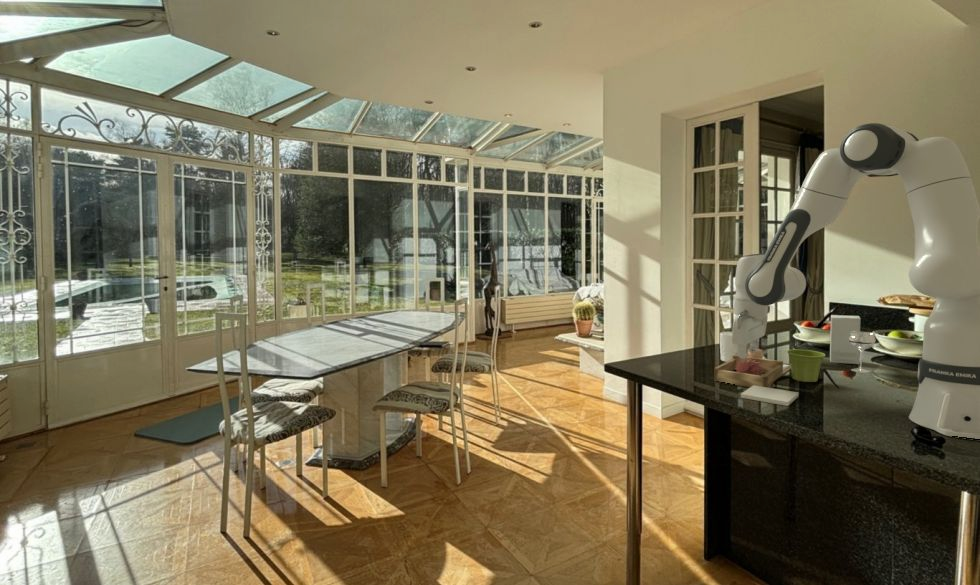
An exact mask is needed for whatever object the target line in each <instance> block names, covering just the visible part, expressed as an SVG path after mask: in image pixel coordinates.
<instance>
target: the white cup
mask: <svg viewBox="0 0 980 585" xmlns="http://www.w3.org/2000/svg"><path fill="white" fill-rule="evenodd" d="M719 349H720V351H719V353H720V360H721V361H723V362H724V363H725V362H727V361H729V360H731V359H733V355H737V356H739V350H738V345H737V344H733V343H732V331H722V332H720V333H719Z"/></svg>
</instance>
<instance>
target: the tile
mask: <svg viewBox="0 0 980 585" xmlns="http://www.w3.org/2000/svg"><path fill="white" fill-rule="evenodd" d="M799 394H800V393H799V392H798V391H791V390H785V389H779V388H773V387H770V388H767V387H761V386H755V385H753V386H752V387H748V388H747V389H746V390H744V391H743V392H741V393H740V398H741V399H747V400H750V401H751V400H753V401H758V402H763V403H769V404H773V405H774V404H775V405H781V406H787V407H788V406H790V405H791V404H792V403H793V402H794V401H796V399H798V398H799Z"/></svg>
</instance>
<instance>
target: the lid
mask: <svg viewBox="0 0 980 585" xmlns="http://www.w3.org/2000/svg"><path fill="white" fill-rule="evenodd" d="M788 371H791V362H783V375H785V374H786V373H788Z"/></svg>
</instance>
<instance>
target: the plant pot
mask: <svg viewBox="0 0 980 585" xmlns="http://www.w3.org/2000/svg"><path fill="white" fill-rule="evenodd" d="M786 352H787V354H788V358H789V361H790V362H789V363H791V369H790V371H791V378H792V379H793V380H795V381H799V382H804V383H815V382H818V379H819V374H820V369H821V364H822V362H823V361H824V358H825V357H826V354H825V353H824V352H820V351H817V350H816V351H815V350H809V349H789V350H787V351H786Z"/></svg>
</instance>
